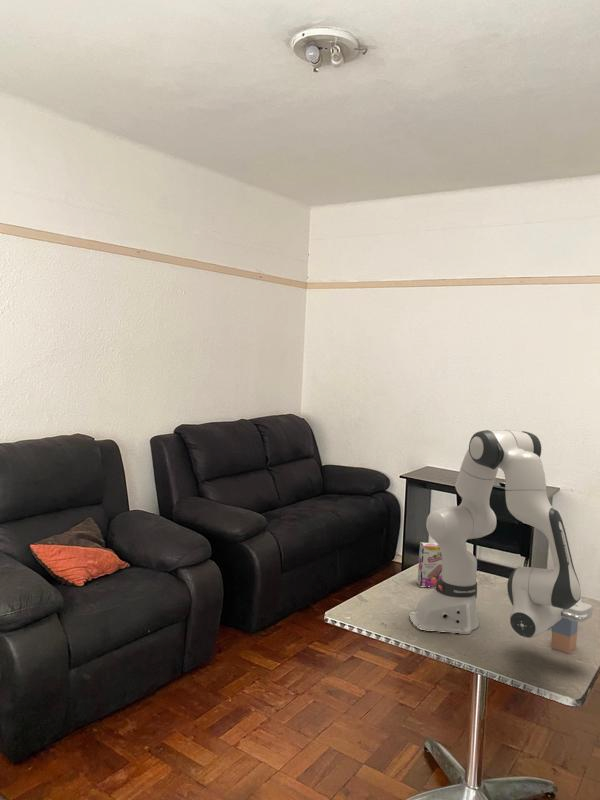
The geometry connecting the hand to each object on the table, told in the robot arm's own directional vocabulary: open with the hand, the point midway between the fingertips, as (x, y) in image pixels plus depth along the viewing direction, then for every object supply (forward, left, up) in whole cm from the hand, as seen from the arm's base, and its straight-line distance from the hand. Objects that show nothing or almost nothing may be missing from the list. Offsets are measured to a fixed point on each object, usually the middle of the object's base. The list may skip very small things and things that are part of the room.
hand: (564, 597), depth 192 cm
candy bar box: (-22, +54, -17) cm, 61 cm away
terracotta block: (+2, +2, -16) cm, 17 cm away
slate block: (+2, +2, -11) cm, 12 cm away
